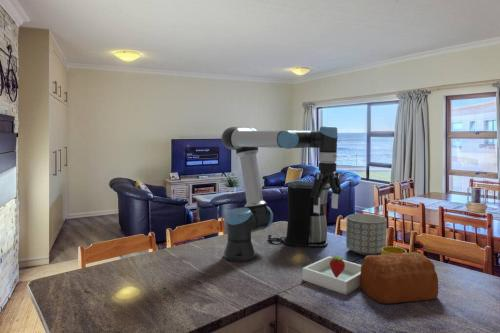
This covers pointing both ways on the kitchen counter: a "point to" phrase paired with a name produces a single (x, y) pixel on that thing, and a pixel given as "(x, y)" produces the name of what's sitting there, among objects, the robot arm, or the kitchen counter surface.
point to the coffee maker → (305, 217)
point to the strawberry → (337, 265)
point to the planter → (366, 233)
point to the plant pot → (392, 250)
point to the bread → (399, 277)
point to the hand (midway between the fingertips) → (325, 210)
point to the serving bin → (325, 277)
